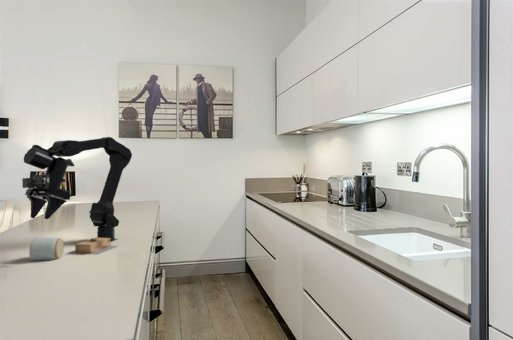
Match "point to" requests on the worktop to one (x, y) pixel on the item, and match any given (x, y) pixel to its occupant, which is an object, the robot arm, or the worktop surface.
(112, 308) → the worktop surface
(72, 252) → the mat
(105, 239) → the lid
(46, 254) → the ceramic mug
